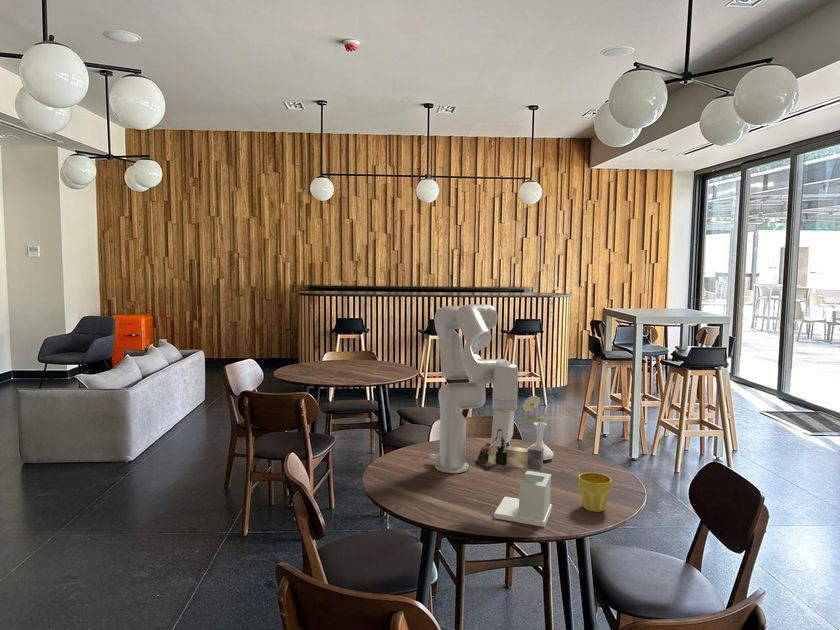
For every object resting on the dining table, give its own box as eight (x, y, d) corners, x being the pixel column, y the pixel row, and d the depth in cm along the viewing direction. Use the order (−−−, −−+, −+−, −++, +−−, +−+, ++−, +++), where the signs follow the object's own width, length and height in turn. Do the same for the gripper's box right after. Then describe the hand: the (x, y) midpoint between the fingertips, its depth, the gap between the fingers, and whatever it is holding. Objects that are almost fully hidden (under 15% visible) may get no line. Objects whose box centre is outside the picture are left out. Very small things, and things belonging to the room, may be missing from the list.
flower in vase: (549, 453, 242) (552, 392, 239) (556, 463, 230) (559, 399, 228) (517, 453, 241) (519, 392, 239) (523, 462, 230) (525, 398, 228)
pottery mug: (472, 459, 233) (481, 440, 235) (494, 470, 234) (503, 451, 235) (479, 462, 222) (489, 441, 223) (502, 473, 222) (511, 453, 224)
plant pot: (569, 503, 191) (571, 474, 191) (595, 499, 196) (597, 470, 195) (591, 516, 182) (592, 485, 181) (617, 511, 186) (619, 481, 185)
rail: (488, 462, 184) (488, 443, 183) (491, 459, 187) (491, 440, 187) (540, 470, 178) (541, 450, 178) (542, 466, 182) (543, 447, 181)
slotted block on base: (494, 518, 179) (495, 480, 178) (504, 501, 192) (505, 466, 191) (544, 527, 174) (546, 488, 173) (551, 508, 187) (553, 473, 186)
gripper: (499, 397, 192) (497, 453, 193) (485, 408, 176) (483, 469, 178) (522, 399, 189) (520, 456, 191) (510, 411, 174) (508, 473, 175)
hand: (502, 462), depth 184 cm, fingers closed on rail, 3 cm apart
